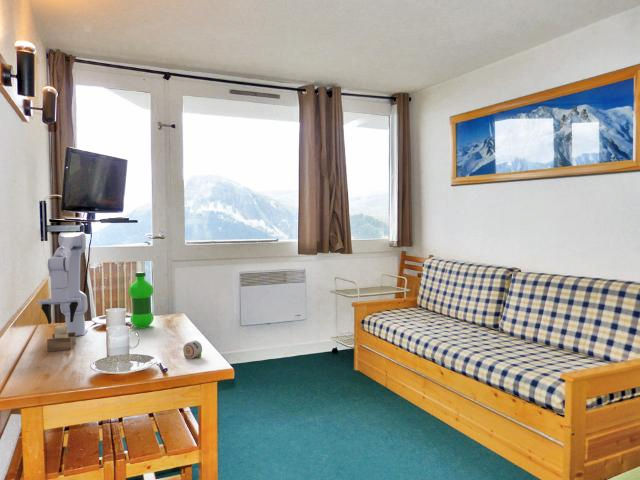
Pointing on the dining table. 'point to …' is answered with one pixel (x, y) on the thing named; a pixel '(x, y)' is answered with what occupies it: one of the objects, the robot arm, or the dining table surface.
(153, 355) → the dining table surface
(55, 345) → the walnut cradle
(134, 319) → the plastic bottle
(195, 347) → the roller toy
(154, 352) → the dining table surface
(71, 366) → the dining table surface
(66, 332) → the birch block
